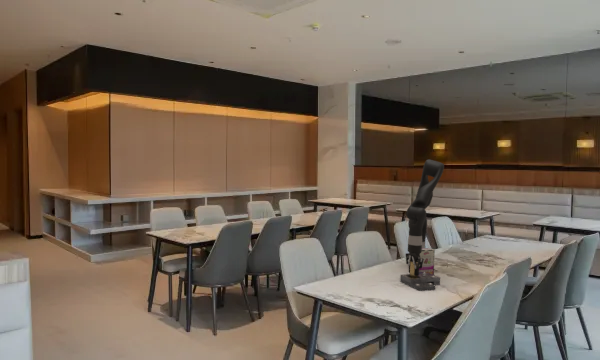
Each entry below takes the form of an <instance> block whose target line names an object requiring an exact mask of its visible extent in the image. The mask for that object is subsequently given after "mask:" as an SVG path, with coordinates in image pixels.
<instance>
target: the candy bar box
mask: <svg viewBox="0 0 600 360" xmlns="http://www.w3.org/2000/svg"><path fill="white" fill-rule="evenodd" d="M435 251H436V250H435V249H433V248H432V247H429V248H427V247H425V248H424V249H422V252H421V253H420V257H421V258H423V264H422V268H420V269H419V274H420V273H423V272H426V273H431V274H433V275H435Z"/></svg>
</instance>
